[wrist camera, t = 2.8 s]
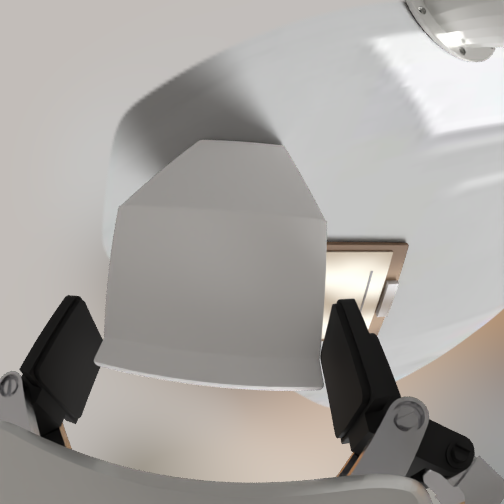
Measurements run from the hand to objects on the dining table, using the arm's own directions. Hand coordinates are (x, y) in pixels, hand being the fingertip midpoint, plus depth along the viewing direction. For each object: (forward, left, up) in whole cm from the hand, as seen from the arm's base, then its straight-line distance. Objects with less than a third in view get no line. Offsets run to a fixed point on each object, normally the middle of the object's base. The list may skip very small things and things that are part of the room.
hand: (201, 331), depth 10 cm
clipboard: (+13, +10, -17) cm, 23 cm away
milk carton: (0, 0, -17) cm, 17 cm away
